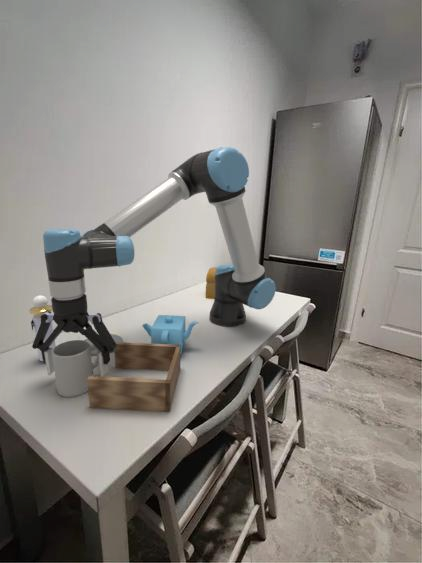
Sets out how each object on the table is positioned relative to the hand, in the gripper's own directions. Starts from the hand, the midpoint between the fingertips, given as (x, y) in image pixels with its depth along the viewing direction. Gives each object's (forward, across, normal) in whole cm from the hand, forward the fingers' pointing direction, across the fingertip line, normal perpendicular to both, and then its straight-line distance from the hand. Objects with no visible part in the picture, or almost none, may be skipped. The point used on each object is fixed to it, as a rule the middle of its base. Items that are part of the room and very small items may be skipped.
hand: (78, 373), depth 72 cm
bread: (+4, -42, -76) cm, 87 cm away
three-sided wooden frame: (+3, -16, 0) cm, 16 cm away
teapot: (+3, -21, -19) cm, 28 cm away
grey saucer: (+3, +2, -20) cm, 20 cm away
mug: (+3, -1, 0) cm, 3 cm away
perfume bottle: (+3, +14, -10) cm, 18 cm away
